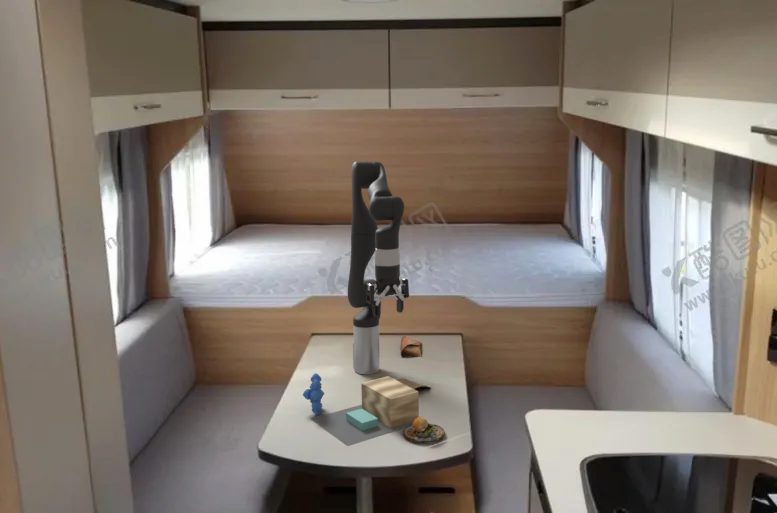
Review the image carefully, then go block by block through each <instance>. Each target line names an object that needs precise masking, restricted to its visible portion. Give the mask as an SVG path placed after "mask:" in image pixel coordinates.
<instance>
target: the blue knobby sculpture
mask: <svg viewBox="0 0 777 513" xmlns="http://www.w3.org/2000/svg"><path fill="white" fill-rule="evenodd" d="M310 381H311V384H310V386H309V388H307V389H305V390H304V391H303V393H302V396H303V398H305V400H309V403H311V411H312V413H313V414H314V415H315V416H319V415H320V414H321V413H322V411H323V404H322V401H321V400H322V399H323V397H324V395H325V392H324V391H323V390H322V385H323V384H322V383H321V381H322V377H321V376H320V375H319V373H314V374H312V376H311V377H310Z"/></svg>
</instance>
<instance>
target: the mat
mask: <svg viewBox="0 0 777 513" xmlns="http://www.w3.org/2000/svg"><path fill="white" fill-rule="evenodd" d="M358 409H362V404H359V405H356V406H352V407H348V408H345V409H341V410H338V411H333V412H331V413H325V414H323V415H320V416H319V415H318V416H315V417H312V418H310V421H312V422H314V424H316V425H318V426H319V427H321V428H322V429H324V431H326V432H328V433H329V434H330V435H331V436H333V437H334V438H336V439H337V440H338V441H340V442H341V443H343V444H344V445H345V446H347V447H349V446H352V445H355V444H360V443H361V442H362V443H363V442H365V441H368V440H371V439H374V438H377V437H380V436H384V435H387V434H391V433H394V432H397V431H400V430H404V429H405V428H406V427H407V426H409V425H412V424H413V422H411V423H408V424H404V425H401V426H398V427H395V428H389V427H388V426H386V425H385V424H383V423H381V422H380V421H378V426H377V427H374V428H370V429H367V430H364V431H362V430H360V429H359V428H357V427H356V426H354V425H353V424H351V423H350V422H348V421H347V420H346V413H347V412H351V411H355V410H358Z"/></svg>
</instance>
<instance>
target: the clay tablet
mask: <svg viewBox="0 0 777 513" xmlns="http://www.w3.org/2000/svg"><path fill="white" fill-rule="evenodd" d="M394 379H395V380H397V381H399V382H401V383H403V384H405V385H407V386H408V387H410V388H412V389H414V390H416V389H417V388H421V387H425V388H429V389H431V387H430V386H426V385H423V384H421V383H418V382H415V381H412V380H409V379H407V378H394Z"/></svg>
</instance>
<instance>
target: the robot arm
mask: <svg viewBox="0 0 777 513" xmlns="http://www.w3.org/2000/svg"><path fill="white" fill-rule="evenodd" d="M350 177H351V199H352V200H351V202H352V203H351V204H352V205H351V207H352V208H351V209H352V210H351V211H352V212H351V228H350V229H351V230H350V264H349V274H348V282H347V299H348V302H349V305H351V306H350V307H352V308H354V309H358V308H359V309H360V308H362V309H361V310H360V311H359V312H358V313H356V315H354V316H353V317H352V328H353V329H352V330H353V331H352V332H353V343H352V357H353V358H352V360H353V362H352V363H353V365H352V367H353V370H354V372H355V373H357V374H361V375H372V374H376V373H378V372H380V370H381V366H380V364H381V362H380V360H381V359H380V357H381V355H380V318H381V313H382V308H381V307H382V300H384V298H385V297H388V296H394V297H395V298H396V312H398V313H403V311H404V309H405V307H404V301H405V300H406V298H407V299H408V298H410V289H409V288H410V287H409V286H410V285H409V279H407V278H406V277H405V278H404V277H401V269H400V268H401V267H400V266H401V261H400V257H401V256H400V243H399V240H400V236H399V235H400V228H401V224H402V220H403V217H404V213H405V203H404V200H403V199H402V198H401V197H400V196H394V195H393V194H392V192H391V190H390V188H389V185H388V179H387V174H386V169H385V166H384V165H383V163H381V161H368V160H367V161H362V160H361V161H360V160H359V161H354V162H353V163H352V167H351V176H350ZM364 189H365V190H367V196H368V199H369V204H368V206H367V205H366V202H365V200H364V198H363V193H362V190H364ZM377 221H379V222H381V221H391V222H389V225H387V226H384V227H380V228H379V226H378V224H377ZM373 256H374V275H375V278H371V279H370V278H369V279H365V274H366V269H367V267H368V265H369V263H370V261H371V259H372V257H373ZM400 277H401V278H400ZM399 287H400V289H399Z"/></svg>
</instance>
